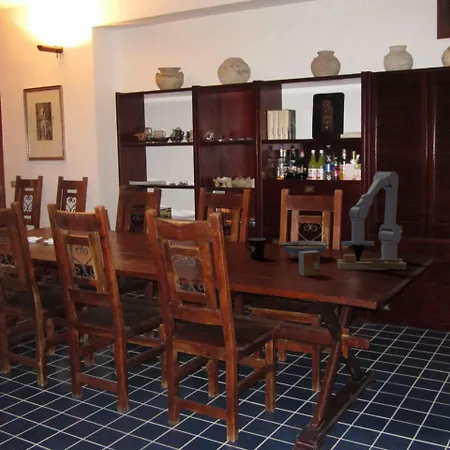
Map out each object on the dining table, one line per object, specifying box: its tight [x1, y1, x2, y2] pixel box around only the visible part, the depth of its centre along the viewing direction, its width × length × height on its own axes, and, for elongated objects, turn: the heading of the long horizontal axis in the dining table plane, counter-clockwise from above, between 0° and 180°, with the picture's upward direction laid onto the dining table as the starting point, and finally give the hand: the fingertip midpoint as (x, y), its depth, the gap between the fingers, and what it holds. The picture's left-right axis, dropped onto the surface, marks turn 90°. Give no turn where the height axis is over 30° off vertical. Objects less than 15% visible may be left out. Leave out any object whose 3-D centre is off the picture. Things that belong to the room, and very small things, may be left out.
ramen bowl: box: [279, 240, 331, 260], centre depth 312 cm, size 25×23×8 cm
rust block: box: [343, 253, 356, 263], centre depth 285 cm, size 5×5×4 cm
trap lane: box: [337, 258, 407, 271], centre depth 285 cm, size 11×30×3 cm, turn 84°
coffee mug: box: [244, 237, 266, 260], centre depth 317 cm, size 12×9×10 cm
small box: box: [298, 250, 321, 277], centre depth 271 cm, size 8×6×10 cm
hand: (357, 261), depth 285 cm, fingers closed
